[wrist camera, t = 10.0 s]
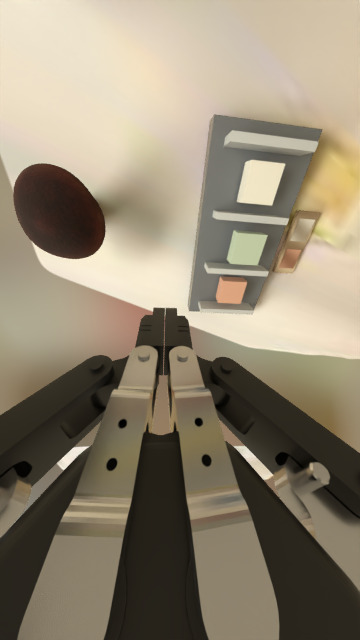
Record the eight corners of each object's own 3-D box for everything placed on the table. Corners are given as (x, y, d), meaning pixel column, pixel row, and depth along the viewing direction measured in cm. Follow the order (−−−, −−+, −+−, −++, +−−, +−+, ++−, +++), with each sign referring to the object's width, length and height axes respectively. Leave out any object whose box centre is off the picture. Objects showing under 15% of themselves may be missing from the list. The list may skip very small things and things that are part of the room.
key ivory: (240, 163, 28) (251, 159, 25) (270, 167, 29) (285, 163, 25) (232, 201, 31) (241, 202, 28) (259, 203, 32) (272, 205, 28)
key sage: (229, 228, 32) (238, 233, 28) (256, 230, 33) (267, 235, 29) (223, 256, 35) (230, 263, 31) (247, 257, 36) (257, 265, 32)
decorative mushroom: (131, 231, 35) (111, 252, 23) (83, 250, 36) (40, 280, 24) (99, 160, 28) (47, 137, 16) (42, 187, 30) (-43, 185, 18)
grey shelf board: (210, 121, 27) (220, 104, 21) (309, 134, 28) (341, 121, 23) (187, 304, 45) (190, 319, 40) (247, 307, 47) (258, 321, 41)
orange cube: (217, 272, 39) (223, 281, 35) (239, 273, 39) (247, 282, 36) (213, 292, 42) (218, 302, 38) (233, 293, 42) (240, 303, 38)
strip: (296, 210, 34) (299, 210, 33) (317, 212, 34) (321, 212, 34) (272, 270, 41) (274, 272, 40) (290, 272, 41) (293, 273, 41)
